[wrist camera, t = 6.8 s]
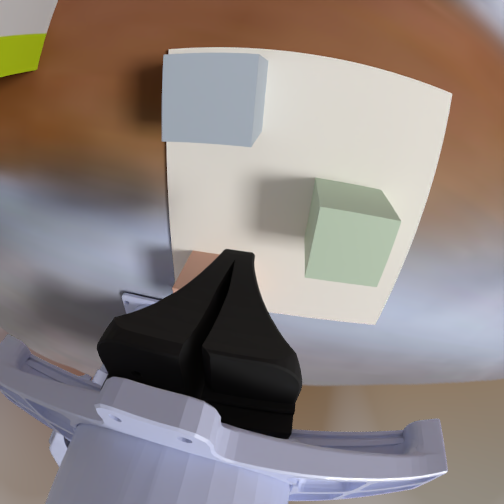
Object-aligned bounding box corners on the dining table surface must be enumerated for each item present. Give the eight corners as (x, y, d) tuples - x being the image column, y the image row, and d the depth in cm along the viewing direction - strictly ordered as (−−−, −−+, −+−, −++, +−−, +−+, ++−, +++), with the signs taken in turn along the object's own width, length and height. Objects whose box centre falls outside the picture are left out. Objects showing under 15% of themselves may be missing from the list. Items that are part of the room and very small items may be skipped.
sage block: (364, 247, 20) (376, 287, 16) (304, 237, 20) (304, 277, 17) (381, 189, 18) (401, 221, 14) (315, 177, 18) (320, 206, 14)
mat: (374, 322, 24) (375, 324, 24) (177, 294, 26) (176, 296, 26) (450, 93, 13) (452, 93, 13) (170, 49, 15) (168, 49, 14)
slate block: (261, 131, 17) (251, 147, 13) (191, 126, 17) (162, 141, 13) (268, 61, 14) (259, 54, 11) (194, 58, 15) (163, 54, 11)
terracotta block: (246, 302, 25) (236, 343, 21) (194, 293, 25) (178, 331, 21) (250, 258, 22) (239, 299, 18) (192, 250, 22) (172, 287, 19)
